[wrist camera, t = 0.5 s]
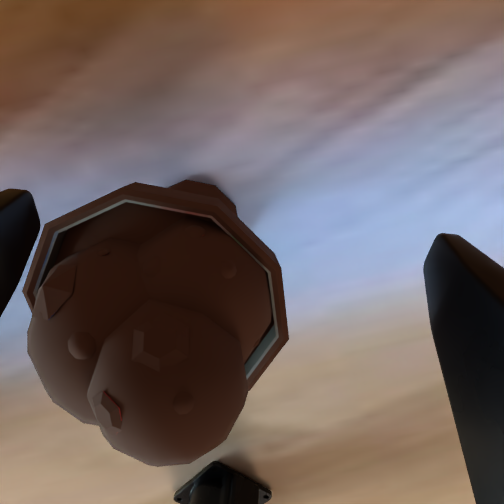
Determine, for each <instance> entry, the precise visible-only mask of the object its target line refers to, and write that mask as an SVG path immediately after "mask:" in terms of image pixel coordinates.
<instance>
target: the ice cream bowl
mask: <svg viewBox="0 0 504 504" xmlns="http://www.w3.org/2000/svg"><path fill="white" fill-rule="evenodd" d="M22 292H23V294H24V296H25V299H26V301H27V303H28V305H29V307H30V310H31V312H32V318H31V322H30V325H29V328H28V331H27V352H28V354H29V356H30V358H31V361H32V363H33V365H34V367H35V369H36V371H37V373H38V375H39V377H40V379H41V381H42V384H43V386H44V388H45V390H46V392H47V393H48V395H49V396H50V398H51V399H52V401H53V402H54V403H55V404H57V405H58V406H60V407H61V408H63V409H64V410H65V411H67V412H68V413H70V414H71V415H73V416H74V417H75V418H77V419H78V420H80V421H81V422H83V423H86V424H92V425H98V426H99V427H100V429H101V431H102V434H103V436H104V437H105V439H106V440H107V441H108V442H109V443H110V445H111V446H112V447H113V448H114V449H116V450H118V451H120V452H122V453H124V454H126V455H128V456H131V457H133V458H135V459H137V460H139V461H141V462H143V463H145V464H148V465H151V466H157V467H159V466H169V465H179V464H189V463H191V462H193V461H195V460H196V459H198V458H199V457H201V456H203V455H204V454H206V453H207V452H209V451H211V450H212V449H214V448H215V447H217V446H218V445H219V444H221V443H222V442H223V441H224V440H226V438H227V436H228V435H229V433H230V431H231V429H232V427H233V425H234V423H235V422H236V420H237V418H238V416H239V414H240V412H241V411H242V409H243V407H244V404H245V401H246V397H247V394H248V391H249V390H250V389H251V388H252V387H253V386H254V384H255V383H256V382H257V380H258V379H259V378H260V376H261V375H262V374H263V372H264V371H265V370H266V368H267V367H268V366H269V365H270V363H271V362H272V361H273V359H274V358H275V357H276V355H277V354H278V353H279V351H280V350H281V349H282V347H283V346H284V345H285V344H286V342H287V341H288V340H289V335H288V326H287V317H286V308H285V299H284V290H283V281H282V272H281V267H280V265H279V262H278V260H277V258H276V256H275V254H274V252H273V251H272V250H271V249H270V248H268V247H267V246H266V245H265V244H264V243H263V242H262V241H261V240H260V239H259V238H258V237H257V236H256V235H255V234H254V233H253V232H252V231H251V230H250V229H249V228H248V227H247V226H246V225H245V224H244V223H243V222H242V221H241V220H240V219H239V218H238V217H237V211H236V206H235V205H234V204H233V203H232V202H231V201H230V200H229V199H228V198H227V197H226V196H225V195H224V194H223V193H222V192H221V191H220V190H219V189H218V188H217V187H216V186H215V185H211V184H205V183H200V182H195V181H190V180H184V181H182V182H180V183H178V184H175V185H173V186H171V187H169V188H163V187H158V186H152V185H147V184H142V183H137V182H135V183H132V184H129V185H127V186H124V187H122V188H120V189H118V190H116V191H113V192H111V193H109V194H107V195H105V196H103V197H101V198H99V199H97V200H94V201H92V202H90V203H88V204H86V205H84V206H82V207H80V208H78V209H76V210H73V211H71V212H69V213H67V214H65V215H63V216H61V217H59V218H57V219H55V220H52V221H50V222H48V223H46V224H45V226H44V228H43V231H42V234H41V237H40V240H39V243H38V246H37V249H36V252H35V255H34V258H33V261H32V264H31V267H30V270H29V272H28V275H27V278H26V281H25V284H24V287H23V290H22Z"/></svg>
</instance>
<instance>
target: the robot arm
mask: <svg viewBox="0 0 504 504" xmlns="http://www.w3.org/2000/svg"><path fill="white" fill-rule="evenodd" d="M39 231H40V219H39V216H38V212H37V209H36V206H35V202H34V199H33V196H32V194H31V193H30V192H29V191H27V190H21V189H6V190H4V191H1V192H0V317H1V315H2V313H3V311H4V310H5V308H6V306H7V304H8V302H9V300H10V299H11V297H12V295H13V293H14V291H15V289H16V287H17V285H18V283H19V281H20V278H21V276H22V274H23V271H24V269H25V266H26V264H27V261H28V259H29V256H30V254H31V251H32V249H33V246H34V244H35V241H36V239H37V236H38V234H39ZM423 271H424V279H425V287H426V295H427V303H428V310H429V318H430V325H431V330H432V335H433V339H434V343H435V347H436V350H437V354H438V358H439V362H440V366H441V370H442V374H443V378H444V381H445V385H446V389H447V393H448V397H449V401H450V405H451V408H452V412H453V416H454V420H455V424H456V428H457V432H458V435H459V439H460V443H461V447H462V451H463V455H464V459H465V463H466V466H467V470H468V474H469V478H470V482H471V486H472V490H473V493H474V497H475V501H476V504H504V268H503V267H502V266H500V265H499V264H497V263H496V262H495V261H493V260H492V259H491V258H489V257H488V256H487V255H485V254H484V253H482V252H481V251H480V250H478V249H477V248H476V247H474V246H473V245H472V244H470V243H469V242H468V241H466V240H465V239H463V238H462V237H461V236H459V235H456V234H446V233H441V234H439V235H437V236H436V238H435V240H434V242H433V244H432V246H431V248H430V251H429V253H428V255H427V257H426V259H425V262H424V268H423ZM271 497H272V492H271V491H270V490H269V489H267V488H265V487H263V486H262V485H260V484H258V483H256V482H254V481H252V480H251V479H249V478H247V477H245V476H243V475H242V474H240V473H238V472H236V471H234V470H232V469H231V468H229V467H227V466H225V465H223V464H222V463H220V462H216V461H214V462H212V463H210V464H209V465H208V466H207V467H205V468H204V469H203V470H202V471H201V472H199V473H198V474H197V475H196V476H195V477H193V478H192V479H191V480H190V481H189V482H187V483H186V484H185V485H184V486H183V487H181V488H180V489H179V490H178V491H177V492H176V493H175V495H174V500H175V501H176V502H178V503H180V504H264V503H266V502H267V501H269V500H270V499H271Z"/></svg>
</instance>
